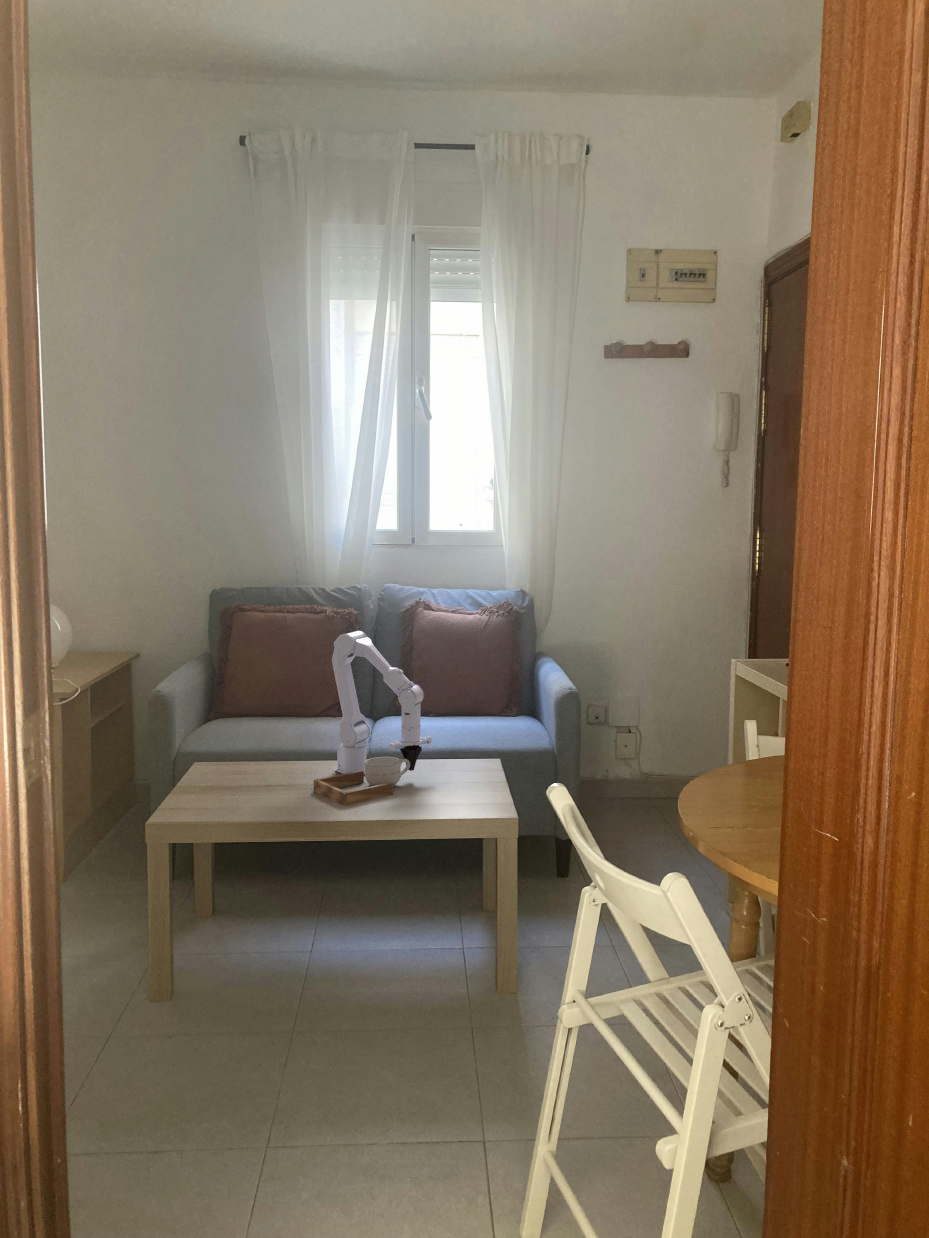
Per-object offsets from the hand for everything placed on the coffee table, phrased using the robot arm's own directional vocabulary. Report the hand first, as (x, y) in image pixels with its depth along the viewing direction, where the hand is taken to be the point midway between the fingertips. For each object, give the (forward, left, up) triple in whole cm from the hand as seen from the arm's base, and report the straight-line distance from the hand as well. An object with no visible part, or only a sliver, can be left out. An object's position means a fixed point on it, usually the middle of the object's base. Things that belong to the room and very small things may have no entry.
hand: (410, 769), depth 285 cm
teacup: (0, -8, -4) cm, 9 cm away
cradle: (0, -20, -3) cm, 20 cm away
